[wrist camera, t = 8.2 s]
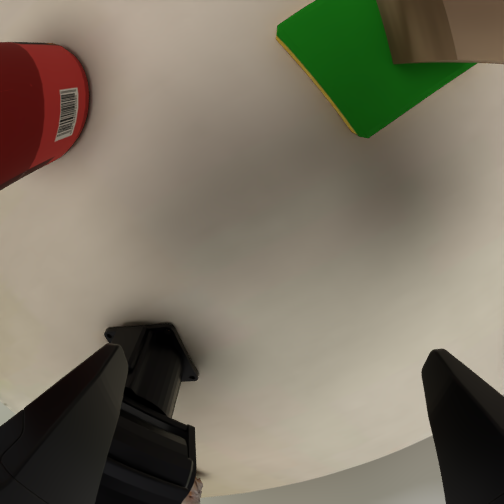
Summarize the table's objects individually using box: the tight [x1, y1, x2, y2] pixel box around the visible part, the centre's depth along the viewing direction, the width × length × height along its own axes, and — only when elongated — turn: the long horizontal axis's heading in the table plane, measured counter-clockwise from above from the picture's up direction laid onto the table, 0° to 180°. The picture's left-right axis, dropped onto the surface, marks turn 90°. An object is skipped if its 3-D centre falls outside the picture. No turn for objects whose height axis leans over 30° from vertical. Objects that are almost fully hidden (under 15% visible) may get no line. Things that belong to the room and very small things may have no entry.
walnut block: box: [376, 0, 504, 64], centre depth 8 cm, size 4×4×6 cm
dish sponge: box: [276, 0, 477, 138], centre depth 12 cm, size 7×14×2 cm, turn 130°
